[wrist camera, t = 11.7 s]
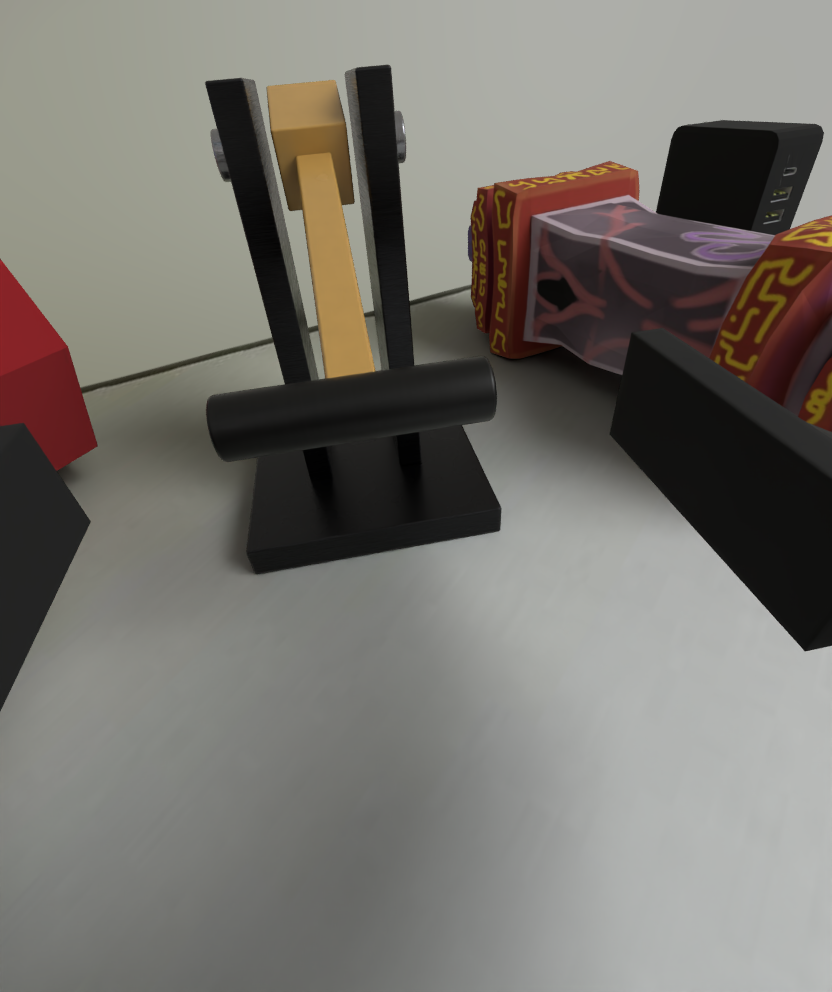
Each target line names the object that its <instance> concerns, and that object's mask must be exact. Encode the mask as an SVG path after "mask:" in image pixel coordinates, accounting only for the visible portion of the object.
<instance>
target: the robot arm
mask: <svg viewBox="0 0 832 992" xmlns="http://www.w3.org/2000/svg"><path fill="white" fill-rule="evenodd" d="M610 435H611V436H612V438H613V439H614V440H615V441H616V442H617V443H618V444H619V445H620V446H621V448H622V449H623V450H624V451H625V452H626V453H627V454H628V455H629V456H630V458H631V459H632V460H633V461H634V462H635V463H636V464H637V465H638V466H639V468H640V469H641V470H642V471H643V472H644V473H645V474H646V475H647V476H648V478H649V479H650V480H651V481H652V482H653V483H654V484H655V485H656V486H657V487H658V489H659V490H660V491H661V492H662V493H663V494H664V495H665V496H666V497H667V499H668V500H669V501H670V502H671V503H672V504H673V505H674V506H675V507H676V509H677V510H678V511H679V512H680V513H681V514H682V515H683V516H684V517H685V519H686V520H687V521H688V522H689V523H690V524H691V525H692V526H693V527H694V529H695V530H696V531H697V532H698V533H699V534H700V535H701V536H702V537H703V539H704V540H705V541H706V542H707V543H708V544H709V545H710V546H711V547H712V549H713V550H714V551H715V552H716V553H717V554H718V555H719V556H720V557H721V559H722V560H723V561H724V562H725V563H726V564H727V565H728V566H729V567H730V569H731V570H732V571H733V572H734V573H735V574H736V575H737V576H738V577H739V579H740V580H741V581H742V582H743V583H744V584H745V585H746V586H747V587H748V589H749V590H750V591H751V592H752V593H753V594H754V595H755V596H756V597H757V599H758V600H759V601H760V602H761V603H762V604H763V605H764V606H765V607H766V609H767V610H768V611H769V612H770V613H771V614H772V615H773V616H774V617H775V619H776V620H777V621H778V622H779V623H780V624H781V625H782V626H783V627H784V629H785V630H786V631H787V632H788V633H789V634H790V635H791V636H792V637H793V639H794V640H795V641H796V642H797V643H798V644H799V645H800V646H801V647H802V649H803V650H804V651H809V650H814V649H818V648H823V647H828V646H832V432H830V431H828V430H825V429H823V428H820V427H818V426H815V425H812V424H810V423H807V422H805V421H804V420H802V419H801V418H799V417H798V416H796V415H795V414H793V413H792V412H790V411H789V410H787V409H786V408H784V407H783V406H781V405H780V404H778V403H776V402H775V401H773V400H772V399H770V398H769V397H767V396H766V395H764V394H763V393H761V392H760V391H758V390H757V389H755V388H754V387H752V386H751V385H749V384H748V383H746V382H745V381H743V380H741V379H740V378H738V377H737V376H735V375H734V374H732V373H731V372H729V371H728V370H726V369H725V368H723V367H722V366H720V365H719V364H717V363H716V362H714V361H713V360H711V359H710V358H708V357H706V356H705V355H703V354H702V353H700V352H699V351H697V350H696V349H694V348H693V347H691V346H690V345H688V344H687V343H685V342H684V341H682V340H681V339H679V338H678V337H676V336H675V335H673V334H671V333H670V332H668V331H667V330H665V329H664V328H658V329H651V330H645V331H638V332H631V337H630V341H629V346H628V351H627V355H626V360H625V365H624V369H623V374H622V379H621V383H620V388H619V393H618V397H617V402H616V407H615V411H614V416H613V421H612V426H611V430H610ZM90 522H91V521H90V520H89V518H88V517H87V515H86V514H85V512H84V511H83V509H82V508H81V507H80V505H79V504H78V502H77V501H76V499H75V498H74V496H73V495H72V493H71V492H70V490H69V489H68V487H67V486H66V484H65V483H64V481H63V480H62V478H61V477H60V475H59V474H58V472H57V471H56V470H55V468H54V467H53V465H52V464H51V462H50V461H49V459H48V458H47V456H46V455H45V453H44V452H43V450H42V449H41V447H40V446H39V444H38V443H37V441H36V440H35V438H34V437H33V435H32V434H31V433H30V431H29V430H28V428H27V427H26V425H25V424H24V423H18V424H12V425H5V426H0V711H1V709H2V707H3V704H4V702H5V700H6V698H7V696H8V694H9V692H10V690H11V688H12V686H13V684H14V681H15V679H16V677H17V675H18V673H19V671H20V669H21V667H22V665H23V663H24V660H25V658H26V656H27V654H28V652H29V650H30V648H31V646H32V644H33V642H34V639H35V637H36V635H37V633H38V631H39V629H40V627H41V625H42V623H43V621H44V619H45V616H46V614H47V612H48V610H49V608H50V606H51V604H52V602H53V600H54V598H55V595H56V593H57V591H58V589H59V587H60V585H61V583H62V581H63V579H64V577H65V574H66V572H67V570H68V568H69V566H70V564H71V562H72V560H73V558H74V556H75V554H76V551H77V549H78V547H79V545H80V543H81V541H82V539H83V537H84V535H85V533H86V530H87V528H88V526H89V524H90Z"/></svg>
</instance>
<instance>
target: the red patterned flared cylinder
mask: <svg viewBox="0 0 832 992" xmlns="http://www.w3.org/2000/svg"><path fill="white" fill-rule="evenodd" d="M468 256H469V259H470V261H472V286H471V299H472V302H473V305H474V307H475V316H476V325H477V329H479V330H480V331H482V332H484V333H489V342H490V352H491V353H494V354H497V355H500V356H503V357H506V358H511V359H520V358H524V357H528V356H531V355H535V354H538V353H542V352H545V351H549V350H552V349H555V348H558V347H561V346H564V347H565V348H566V349H568V350H569V351H571V352H572V353H574V354H575V355H576V356H578V357H579V358H581V359H582V360H584V361H585V362H587V363H588V364H590V365H593V366H596V367H599V368H602V369H605V370H608V371H611V372H614V373H617V374H620V375H622V374H623V369H624V365H625V360H626V355H627V351H628V346H629V341H630V337H631V332H638V331H645V330H651V329H658V328H664V329H665V330H667V331H668V332H670V333H671V334H673V335H675V336H676V337H678V338H679V339H681V340H682V341H684V342H685V343H687V344H688V345H690V346H691V347H693V348H694V349H696V350H697V351H699V352H700V353H702V354H703V355H705V356H706V357H708V358H710V359H711V360H713V361H714V362H716V363H717V364H719V365H720V366H722V367H723V368H725V369H726V370H728V371H729V372H731V373H732V374H734V375H735V376H737V377H738V378H740V379H741V380H743V381H745V382H746V383H748V384H749V385H751V386H752V387H754V388H755V389H757V390H758V391H760V392H761V393H763V394H764V395H766V396H767V397H769V398H770V399H772V400H773V401H775V402H776V403H778V404H780V405H781V406H783V407H784V408H786V409H787V410H789V411H790V412H792V413H793V414H795V415H796V416H798V417H799V418H801V419H802V420H804V421H805V422H807V423H810V424H812V425H815V426H818V427H820V428H823V429H825V430H828V431H830V432H832V216H828V217H824V218H821V219H817V220H814V221H811V222H808V223H805V224H803V225H800V226H798V227H795V228H792V229H790V230H787V231H784V232H782V233H779V234H776V235H769V234H764V233H758V232H752V231H747V230H741V229H736V228H730V227H725V226H719V225H714V224H708V223H702V222H697V221H692V220H687V219H682V218H676V217H671V216H666V215H661V214H657V213H656V212H654V211H653V210H651V209H650V208H648V207H646V206H645V205H643V204H642V203H640V202H639V178H638V171H636V170H634V169H631V168H628V167H625V166H622V165H620V164H617V163H614V162H611V161H608V162H605V163H602V164H599V165H595V166H592V167H589V168H586V169H584V170H581V171H578V172H573V171H570V172H562V173H559V174H557V175H555V176H550V177H537V178H527V179H520V180H513V181H506V182H499V183H494V185H492V186H486V187H481V188H478V191H477V200H476V201H474V204H473V209H472V213H471V226H469V230H468Z"/></svg>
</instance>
